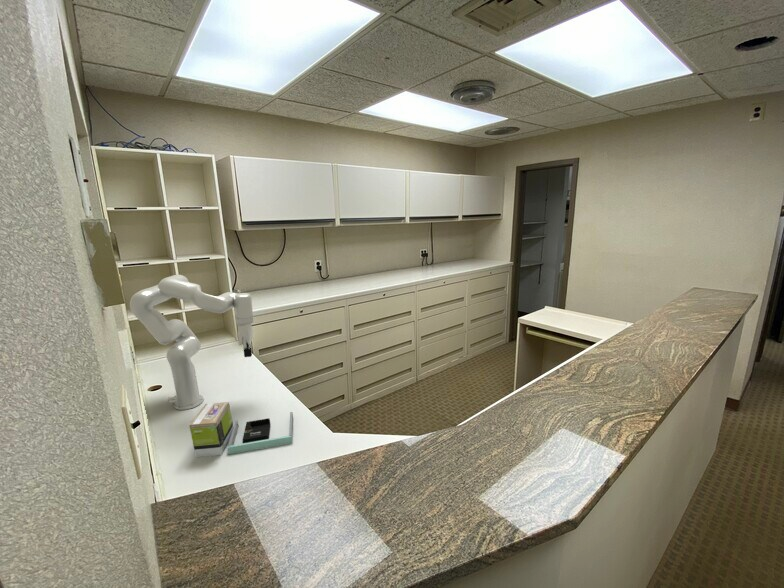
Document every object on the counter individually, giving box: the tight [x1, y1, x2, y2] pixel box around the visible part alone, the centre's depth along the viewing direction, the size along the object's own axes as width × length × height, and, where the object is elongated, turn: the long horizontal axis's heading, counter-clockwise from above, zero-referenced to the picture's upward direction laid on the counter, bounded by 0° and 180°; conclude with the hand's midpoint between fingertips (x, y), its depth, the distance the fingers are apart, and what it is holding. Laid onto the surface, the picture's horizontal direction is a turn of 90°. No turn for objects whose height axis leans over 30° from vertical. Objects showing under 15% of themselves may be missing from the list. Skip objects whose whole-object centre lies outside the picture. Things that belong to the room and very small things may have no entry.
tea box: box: [189, 401, 234, 458], centre depth 141 cm, size 15×10×15 cm
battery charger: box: [242, 417, 271, 444], centre depth 147 cm, size 13×10×4 cm
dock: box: [226, 411, 294, 455], centre depth 148 cm, size 24×18×3 cm
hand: (248, 356), depth 169 cm, fingers closed
